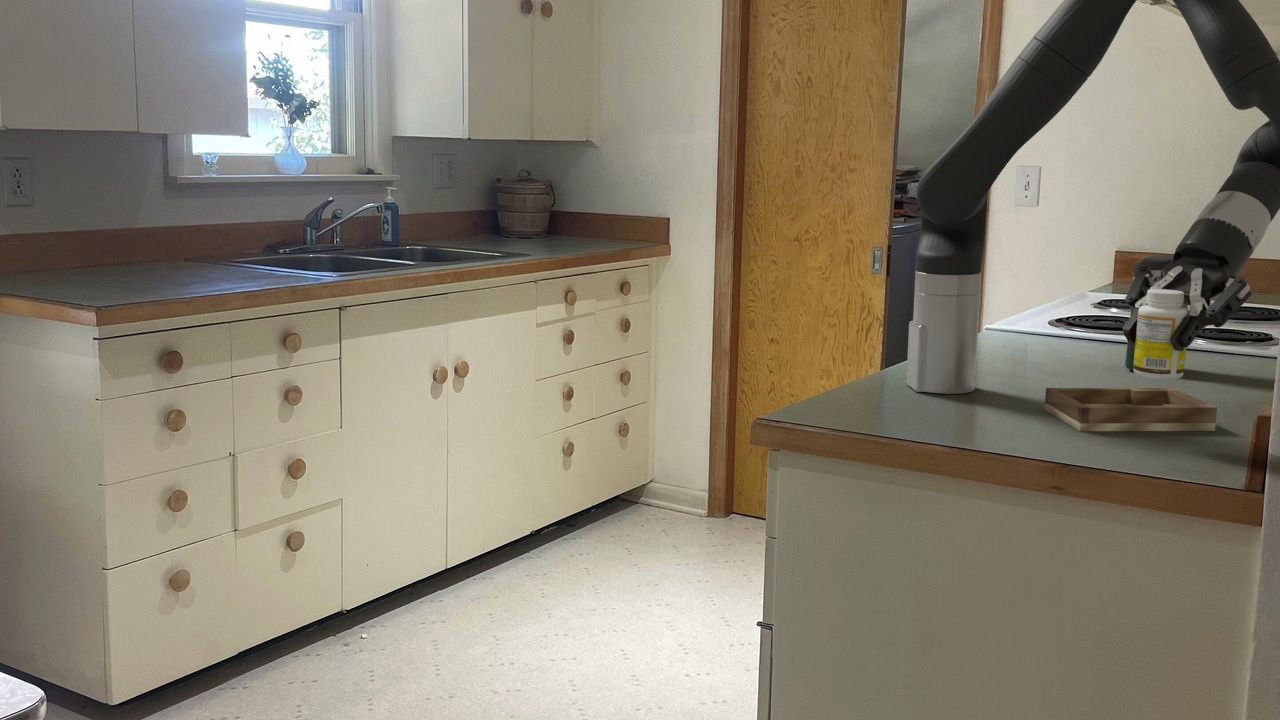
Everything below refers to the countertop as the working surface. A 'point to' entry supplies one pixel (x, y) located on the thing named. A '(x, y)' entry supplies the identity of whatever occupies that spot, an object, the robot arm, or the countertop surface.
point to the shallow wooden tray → (1130, 409)
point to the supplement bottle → (1159, 335)
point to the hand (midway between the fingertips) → (1151, 341)
